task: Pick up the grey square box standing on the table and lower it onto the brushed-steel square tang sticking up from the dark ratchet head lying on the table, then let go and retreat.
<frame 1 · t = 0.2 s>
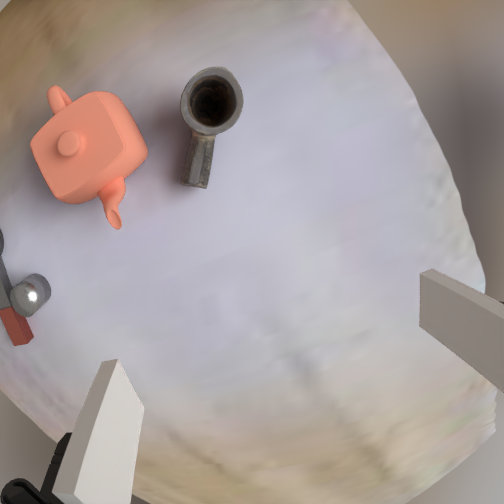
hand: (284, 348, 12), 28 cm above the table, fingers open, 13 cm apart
teapot: (104, 155, 34), on the table
pipe: (206, 135, 36), on the table
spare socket: (38, 288, 36), on the table
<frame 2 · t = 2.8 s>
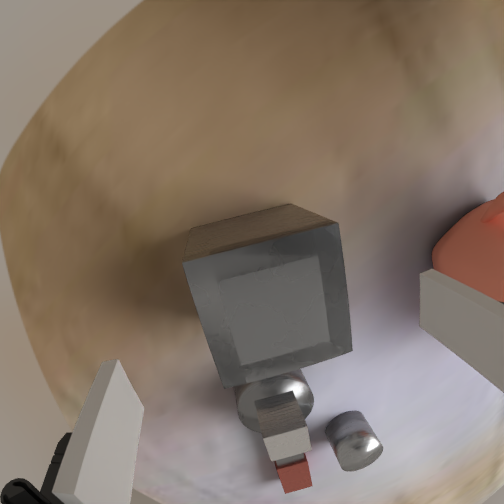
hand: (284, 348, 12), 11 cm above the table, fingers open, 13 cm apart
grey square box: (253, 264, 22), on the table
teapot: (468, 263, 25), on the table
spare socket: (344, 425, 28), on the table
ratchet: (269, 385, 25), on the table
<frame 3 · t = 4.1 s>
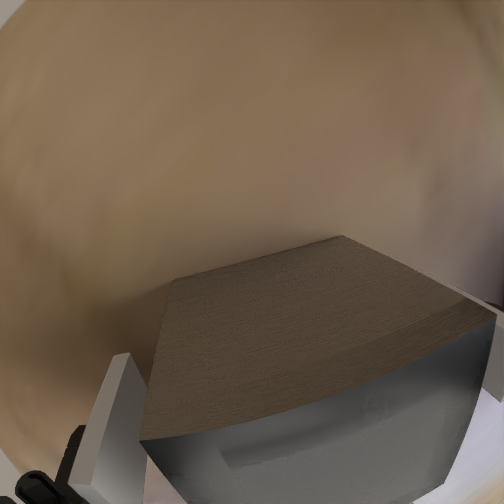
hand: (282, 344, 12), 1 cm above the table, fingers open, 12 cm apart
grey square box: (278, 334, 13), on the table
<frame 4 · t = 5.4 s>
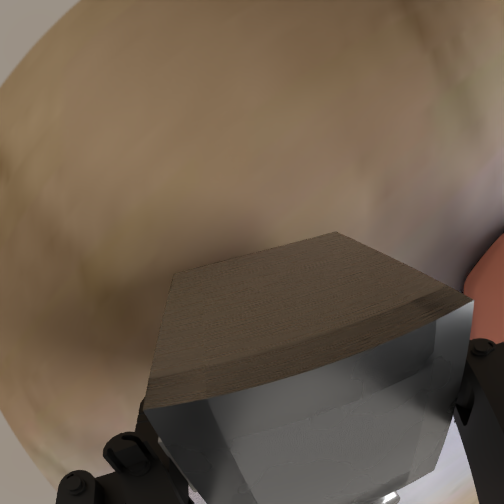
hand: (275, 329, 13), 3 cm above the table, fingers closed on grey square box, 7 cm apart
grey square box: (274, 325, 14), point 3 cm above the table, touching gripper
teapot: (496, 291, 21), on the table
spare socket: (356, 474, 22), on the table
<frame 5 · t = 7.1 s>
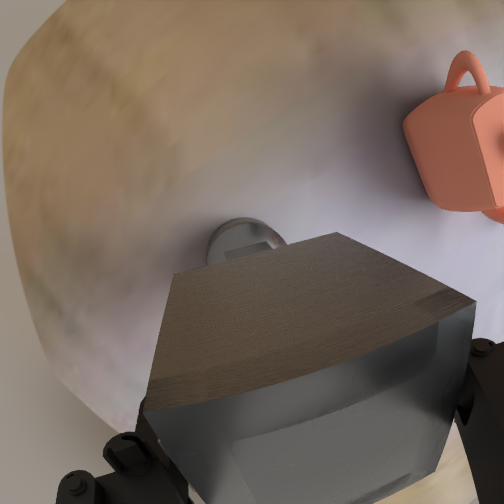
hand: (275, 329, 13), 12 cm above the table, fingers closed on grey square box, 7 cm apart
grey square box: (274, 326, 14), point 12 cm above the table, touching gripper
teapot: (446, 152, 25), on the table
ratchet: (244, 255, 25), on the table
when the fingers open (4 cm above the table, at t = 8.7 s): grey square box stays where it is, resting on ratchet.
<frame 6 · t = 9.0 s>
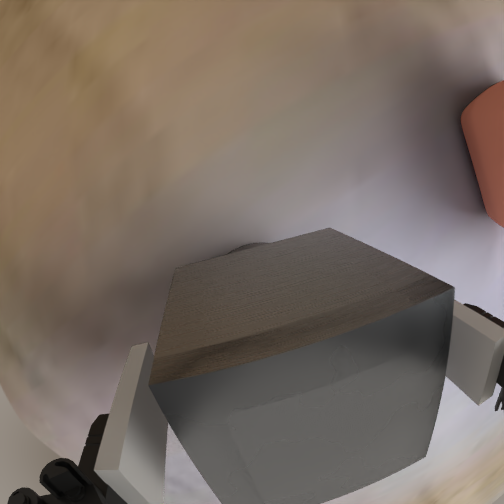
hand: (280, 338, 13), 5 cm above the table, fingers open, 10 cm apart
grey square box: (271, 318, 14), point 3 cm above the table, touching ratchet
teapot: (501, 156, 18), on the table
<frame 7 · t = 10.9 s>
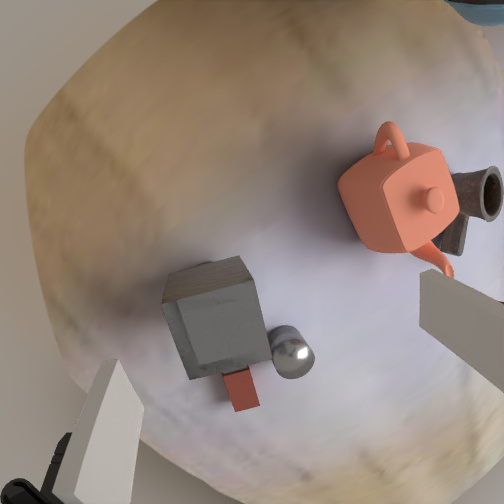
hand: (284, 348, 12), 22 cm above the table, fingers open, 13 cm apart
grey square box: (213, 297, 31), point 3 cm above the table, touching ratchet
teapot: (380, 199, 35), on the table
pipe: (448, 207, 37), on the table
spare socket: (283, 341, 37), on the table
ratchet: (211, 288, 34), on the table
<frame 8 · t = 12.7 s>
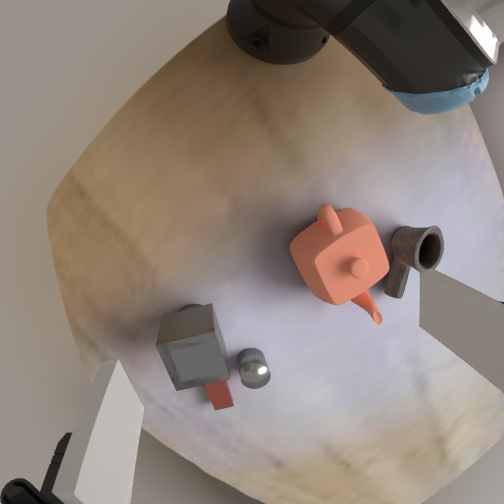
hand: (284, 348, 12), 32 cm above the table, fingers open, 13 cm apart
grey square box: (194, 331, 42), point 3 cm above the table, touching ratchet
teapot: (329, 252, 46), on the table
pipe: (396, 254, 48), on the table
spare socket: (250, 359, 48), on the table
ratchet: (194, 322, 45), on the table
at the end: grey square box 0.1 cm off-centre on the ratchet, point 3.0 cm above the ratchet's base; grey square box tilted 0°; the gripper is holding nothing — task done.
